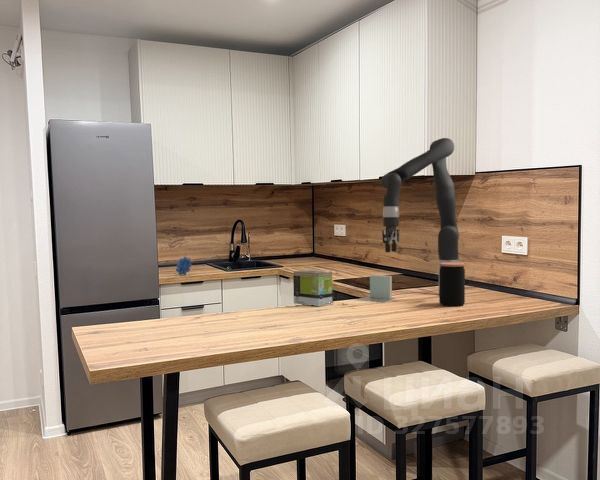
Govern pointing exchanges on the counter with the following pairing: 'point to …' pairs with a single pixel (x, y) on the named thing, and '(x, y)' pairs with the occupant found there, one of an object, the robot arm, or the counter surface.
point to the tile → (381, 286)
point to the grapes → (183, 266)
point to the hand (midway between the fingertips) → (390, 251)
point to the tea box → (312, 287)
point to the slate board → (375, 299)
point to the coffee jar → (452, 284)
